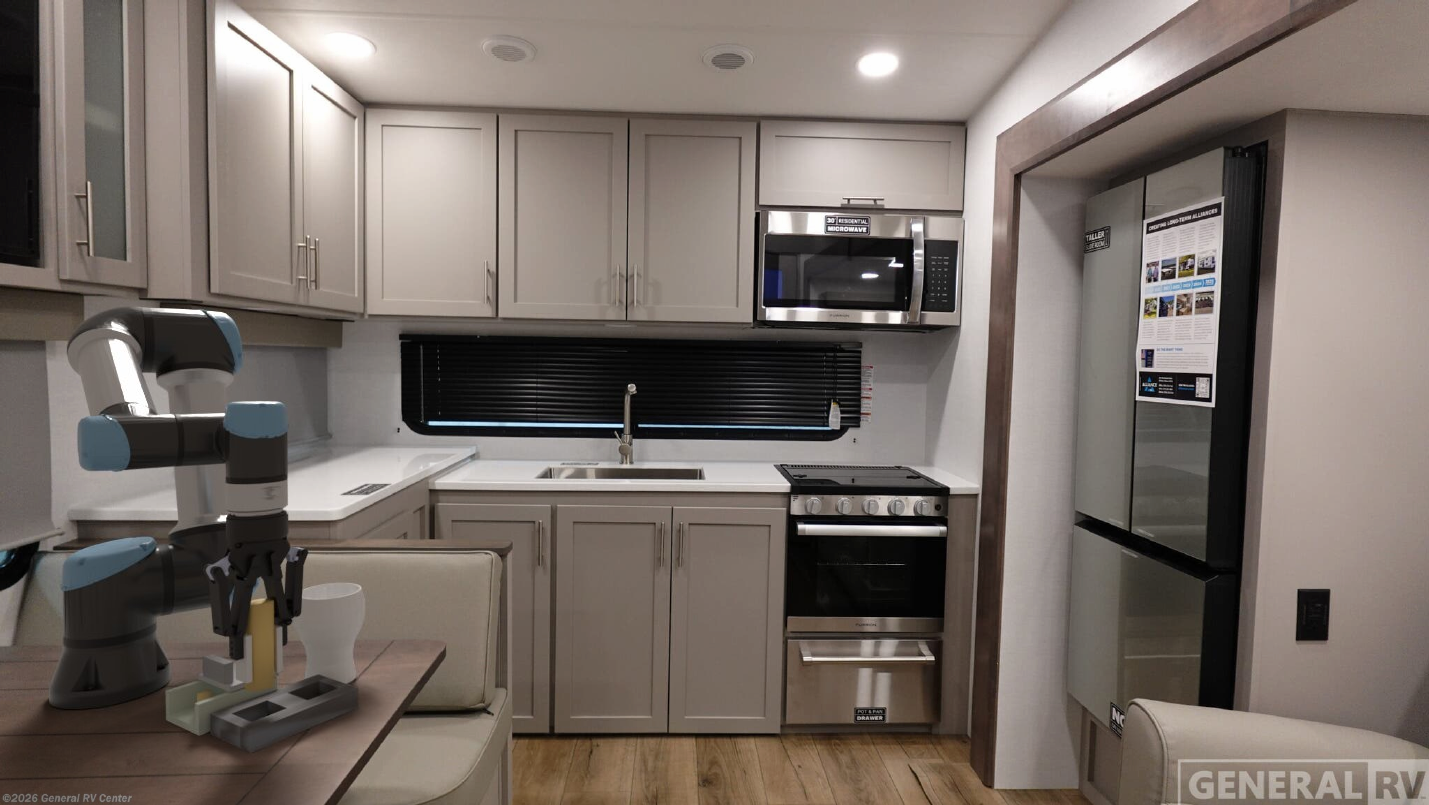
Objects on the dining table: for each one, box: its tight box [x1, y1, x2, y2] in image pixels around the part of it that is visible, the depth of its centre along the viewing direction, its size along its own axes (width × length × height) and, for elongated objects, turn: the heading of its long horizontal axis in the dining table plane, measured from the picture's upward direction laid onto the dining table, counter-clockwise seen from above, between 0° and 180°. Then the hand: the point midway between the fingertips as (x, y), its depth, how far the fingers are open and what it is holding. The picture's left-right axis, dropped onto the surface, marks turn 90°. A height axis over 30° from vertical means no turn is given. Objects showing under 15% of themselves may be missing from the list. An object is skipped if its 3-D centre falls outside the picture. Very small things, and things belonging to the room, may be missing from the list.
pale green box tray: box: [165, 676, 278, 736], centre depth 112 cm, size 9×11×4 cm
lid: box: [197, 653, 280, 692], centre depth 113 cm, size 9×7×4 cm
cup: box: [292, 582, 366, 684], centre depth 124 cm, size 11×11×15 cm
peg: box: [245, 598, 275, 691], centre depth 106 cm, size 4×4×12 cm
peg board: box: [210, 674, 359, 754], centre depth 110 cm, size 10×16×3 cm, turn 151°
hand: (259, 675), depth 106 cm, fingers closed on peg, 3 cm apart
